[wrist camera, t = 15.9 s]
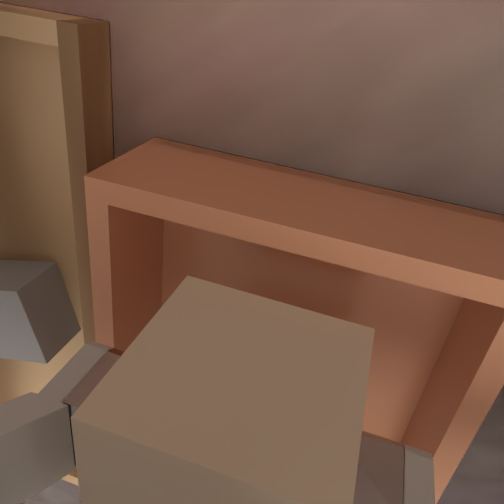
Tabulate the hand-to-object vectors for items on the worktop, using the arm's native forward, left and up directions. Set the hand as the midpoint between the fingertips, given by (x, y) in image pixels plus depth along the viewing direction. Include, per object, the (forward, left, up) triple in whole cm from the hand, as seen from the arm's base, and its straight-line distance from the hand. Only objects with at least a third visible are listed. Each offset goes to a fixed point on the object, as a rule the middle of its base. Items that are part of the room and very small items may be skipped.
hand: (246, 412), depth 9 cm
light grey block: (-10, -4, -5) cm, 12 cm away
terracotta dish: (0, -2, -6) cm, 6 cm away
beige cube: (0, 0, -1) cm, 1 cm away
